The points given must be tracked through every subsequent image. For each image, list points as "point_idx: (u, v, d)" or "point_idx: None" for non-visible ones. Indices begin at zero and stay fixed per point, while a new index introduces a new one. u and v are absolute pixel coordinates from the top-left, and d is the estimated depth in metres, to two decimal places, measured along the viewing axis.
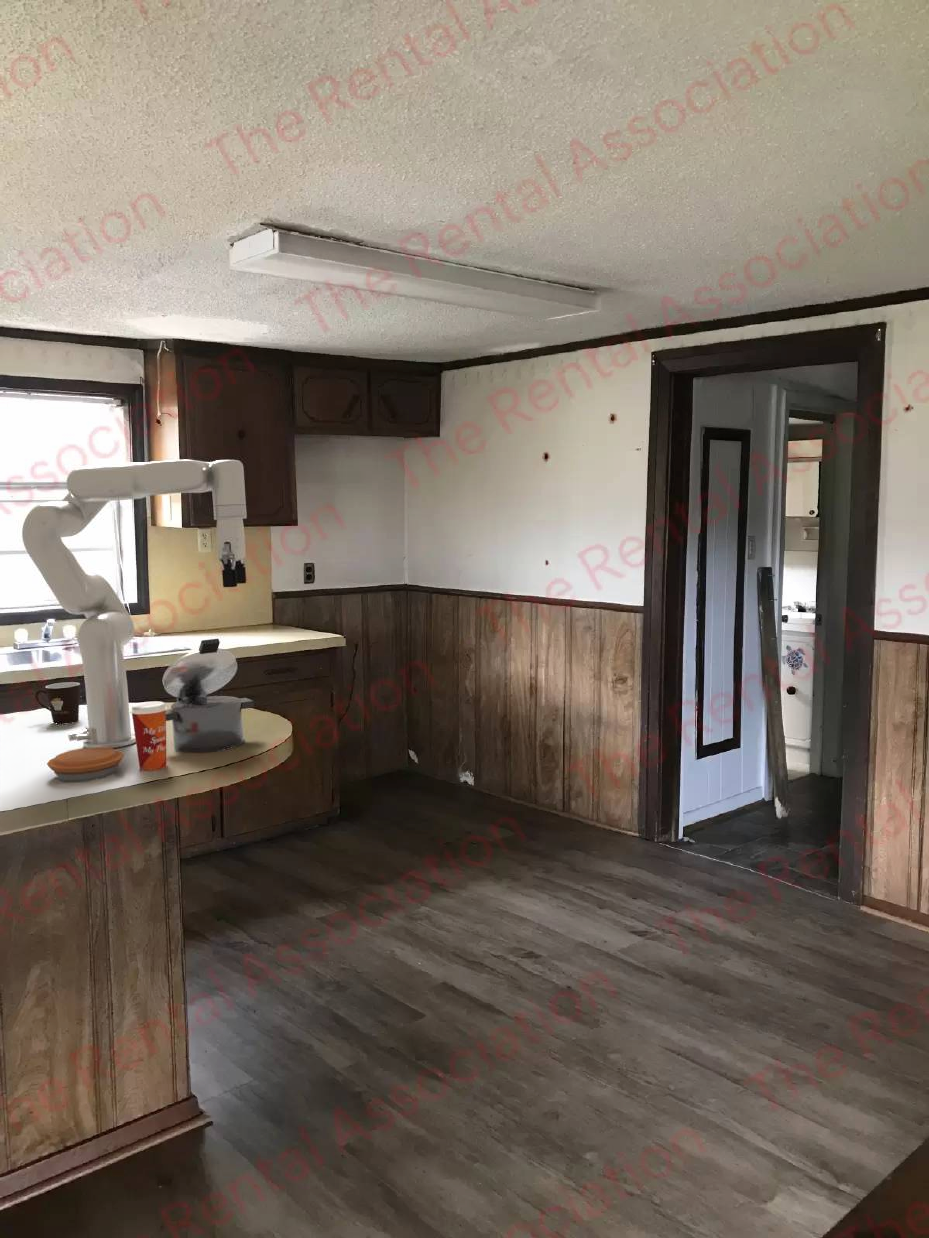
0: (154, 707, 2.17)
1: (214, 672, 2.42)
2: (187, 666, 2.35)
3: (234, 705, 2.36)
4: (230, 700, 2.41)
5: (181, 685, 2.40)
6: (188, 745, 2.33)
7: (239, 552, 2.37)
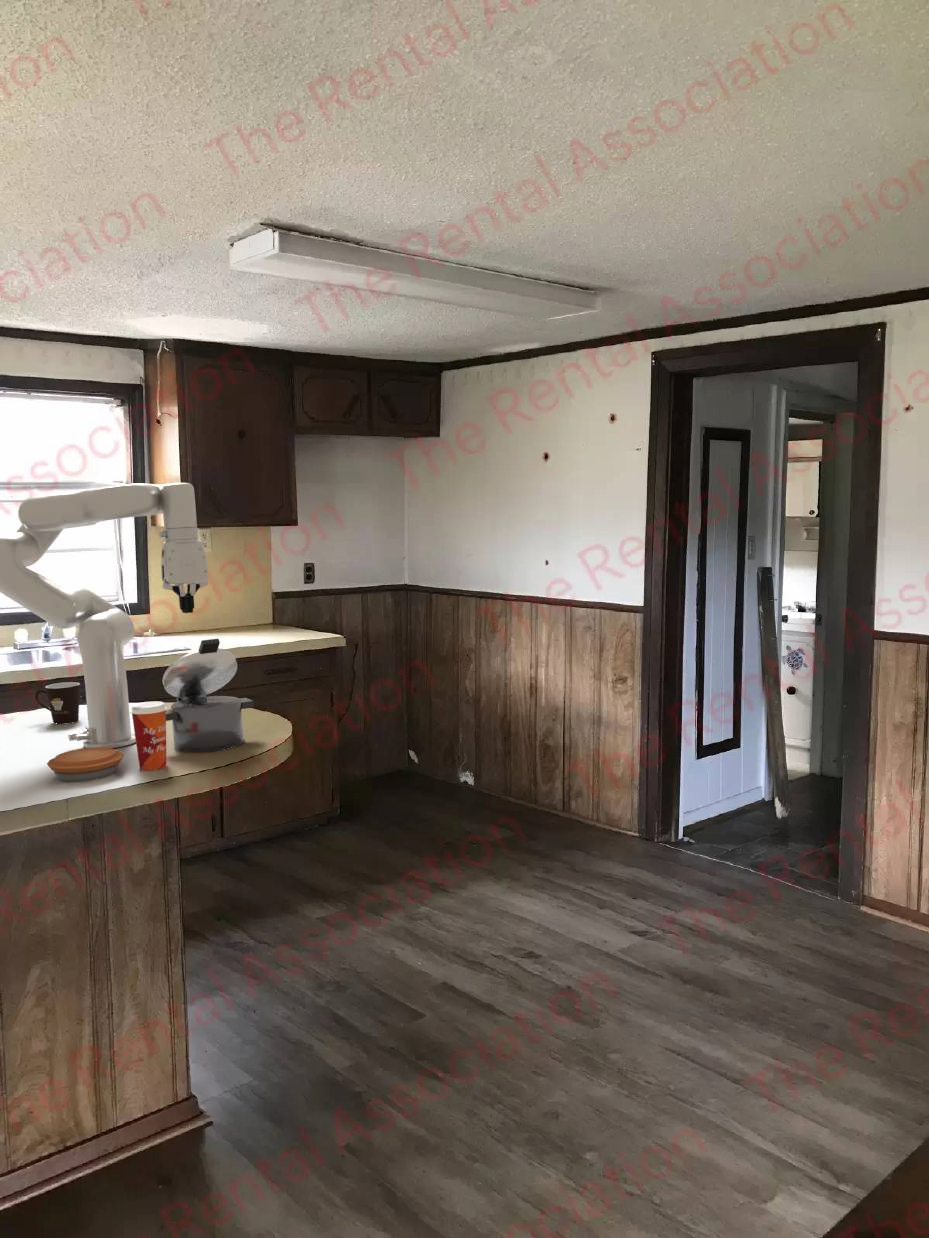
0: (154, 707, 2.17)
1: (214, 672, 2.42)
2: (187, 666, 2.35)
3: (234, 705, 2.36)
4: (230, 700, 2.41)
5: (181, 685, 2.40)
6: (188, 745, 2.33)
7: None
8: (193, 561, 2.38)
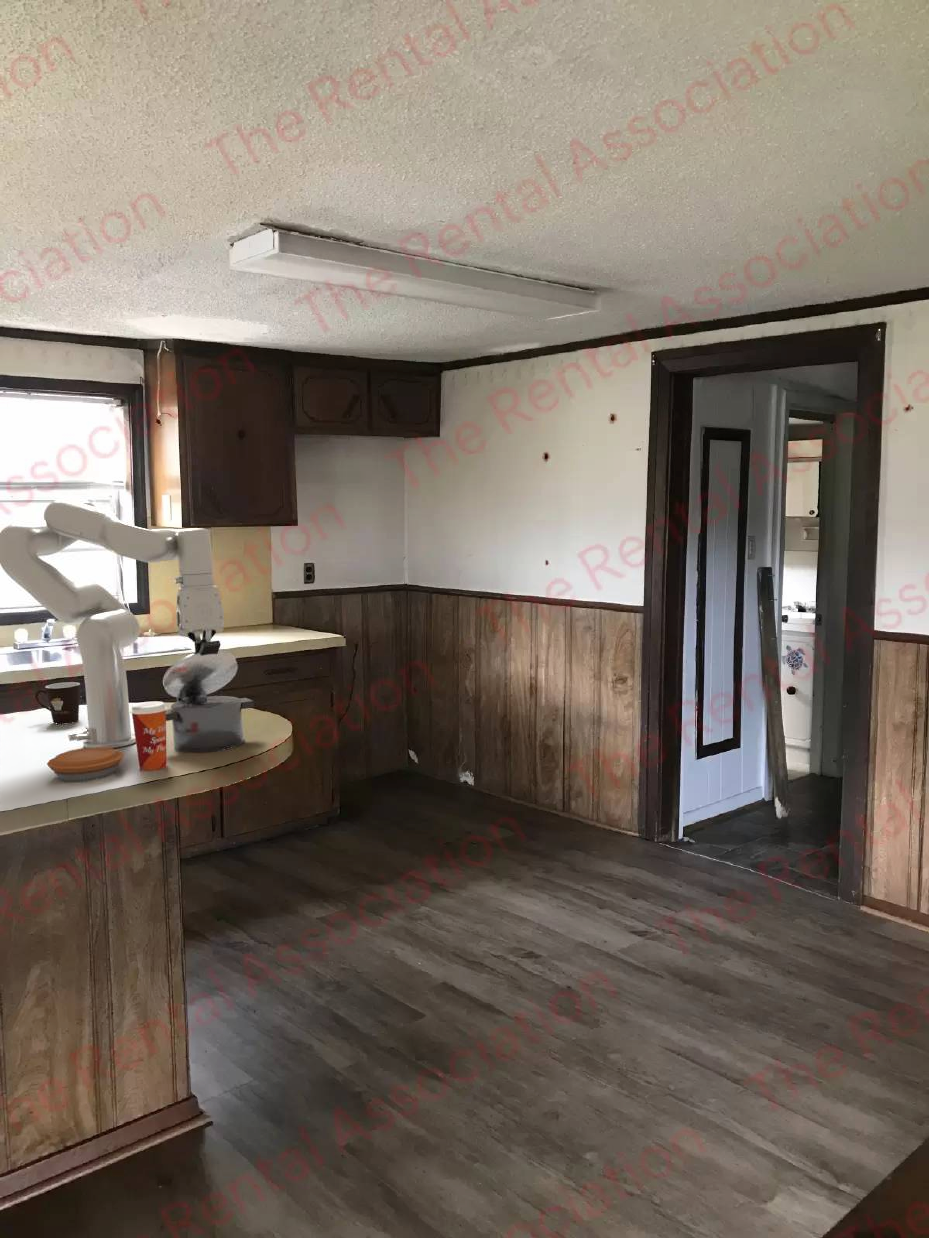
0: (154, 707, 2.17)
1: (214, 673, 2.41)
2: (187, 667, 2.35)
3: (234, 705, 2.36)
4: (230, 700, 2.41)
5: (181, 685, 2.40)
6: (188, 745, 2.33)
7: None
8: (209, 607, 2.35)
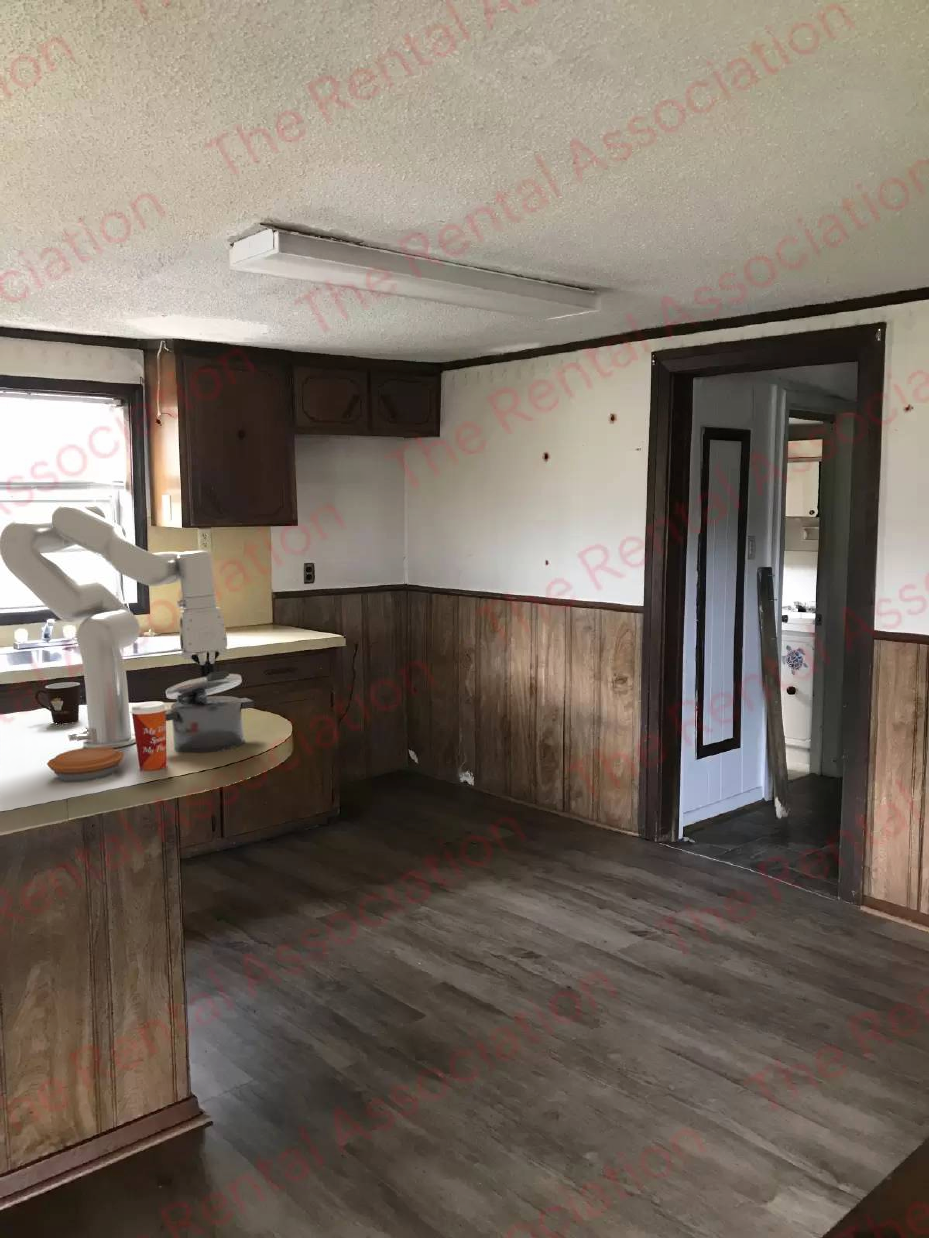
0: (154, 707, 2.17)
1: (218, 686, 2.40)
2: (192, 687, 2.33)
3: (234, 705, 2.36)
4: (230, 700, 2.41)
5: (183, 694, 2.39)
6: (188, 745, 2.33)
7: None
8: (212, 629, 2.36)
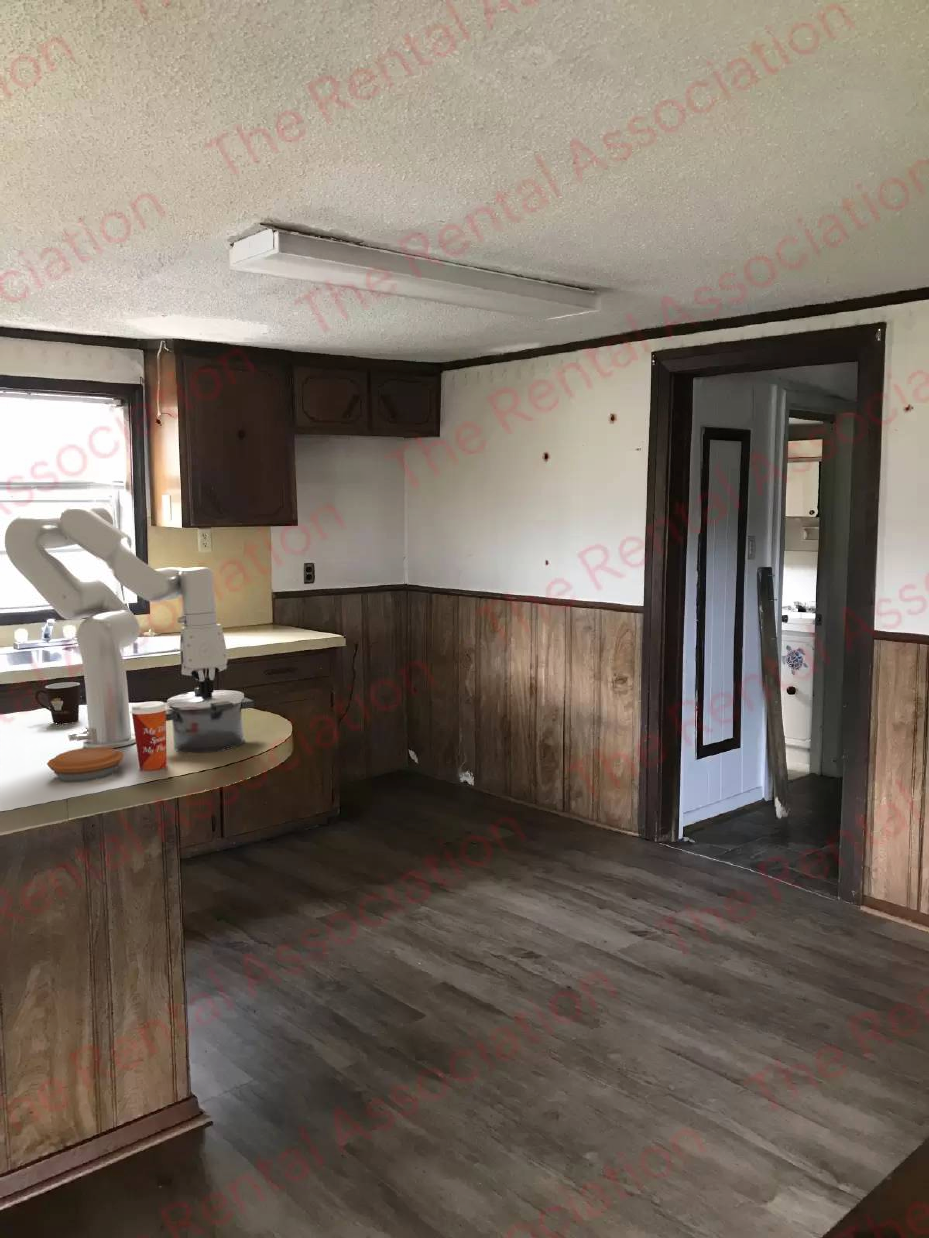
0: (154, 707, 2.17)
1: None
2: None
3: (234, 705, 2.36)
4: None
5: None
6: (188, 745, 2.33)
7: None
8: (212, 646, 2.36)
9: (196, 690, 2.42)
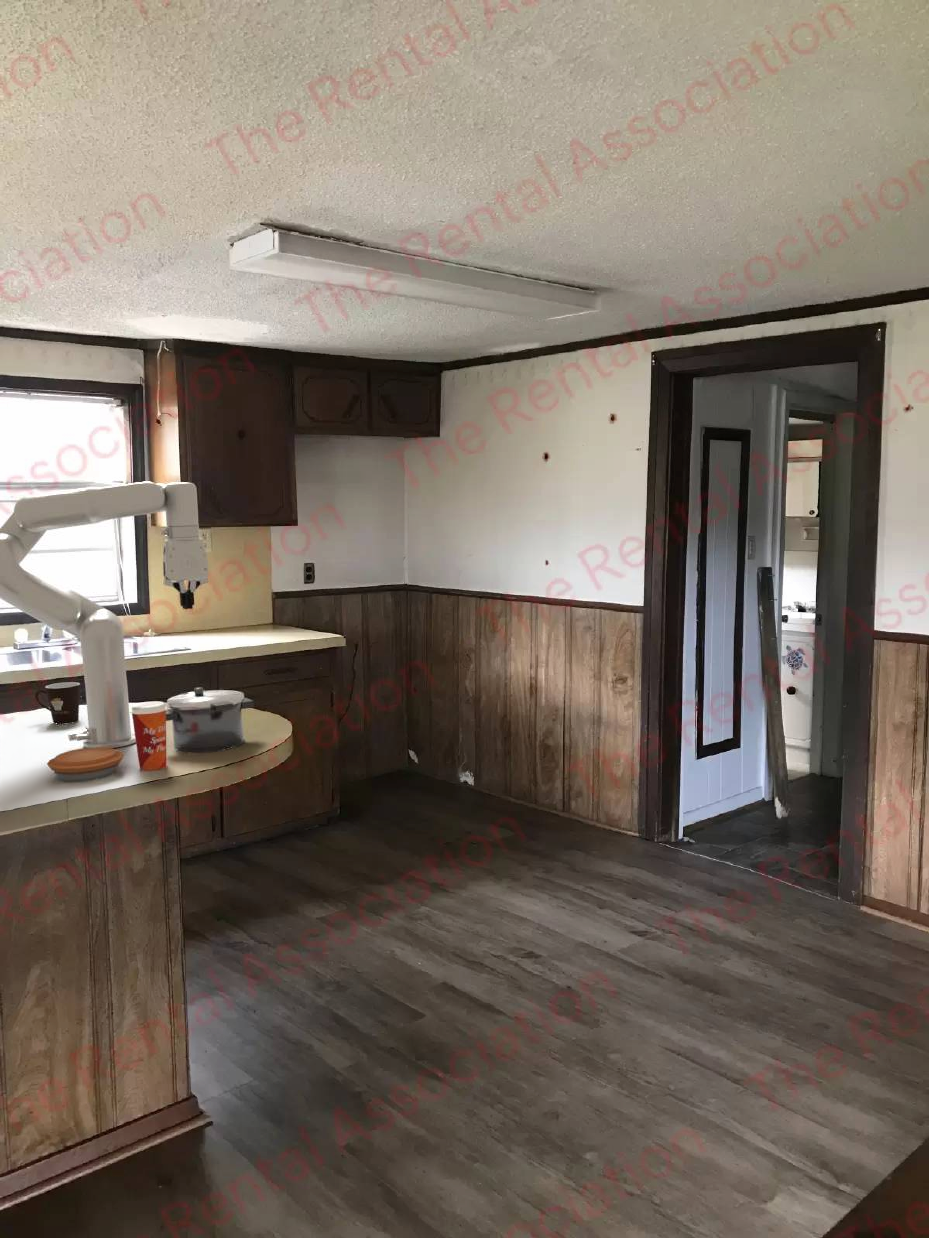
0: (154, 707, 2.17)
1: None
2: None
3: (234, 705, 2.36)
4: None
5: None
6: (188, 745, 2.33)
7: None
8: (193, 559, 2.45)
9: (196, 690, 2.42)
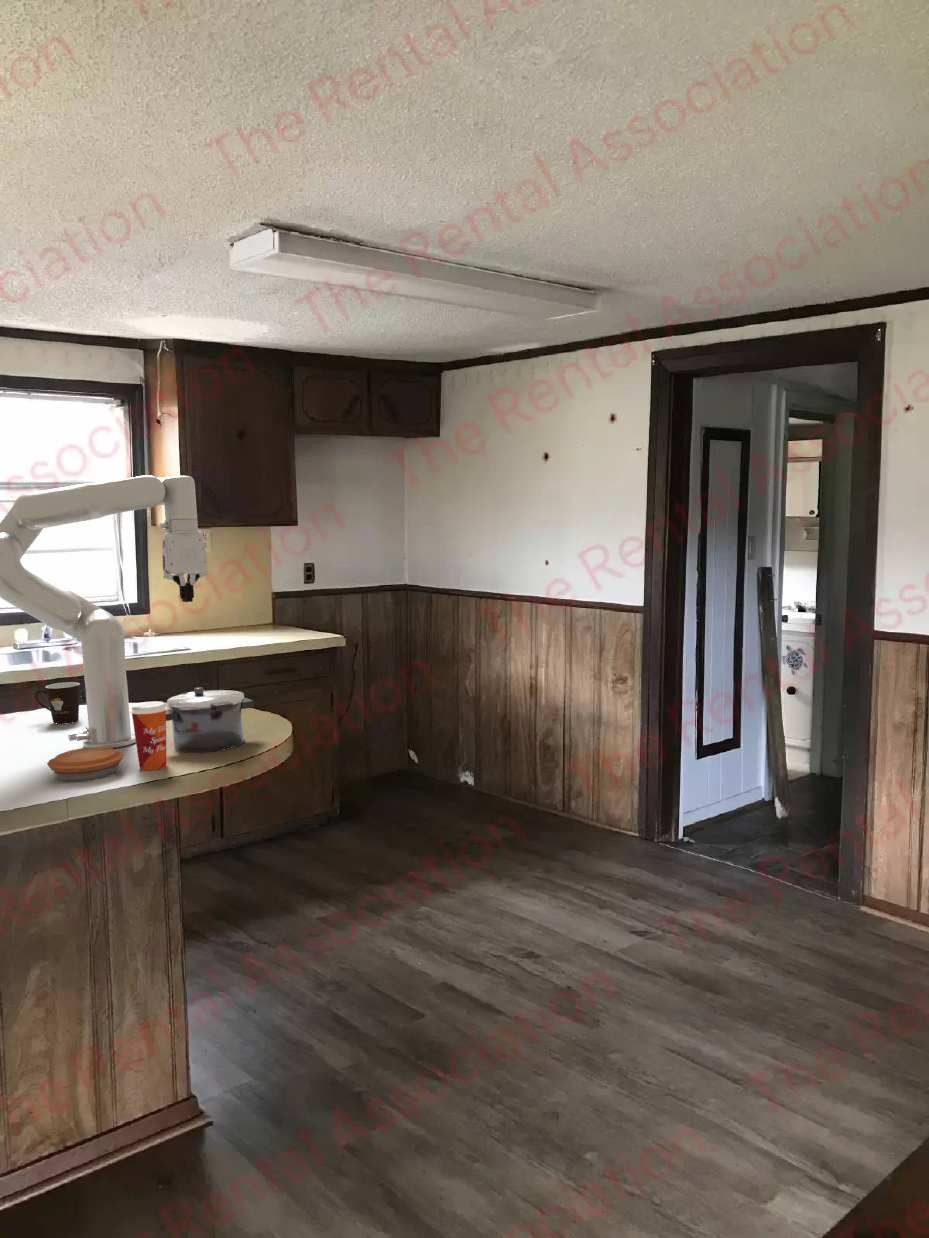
0: (154, 707, 2.17)
1: None
2: None
3: (234, 705, 2.36)
4: None
5: None
6: (188, 745, 2.33)
7: None
8: (193, 552, 2.46)
9: (196, 690, 2.42)
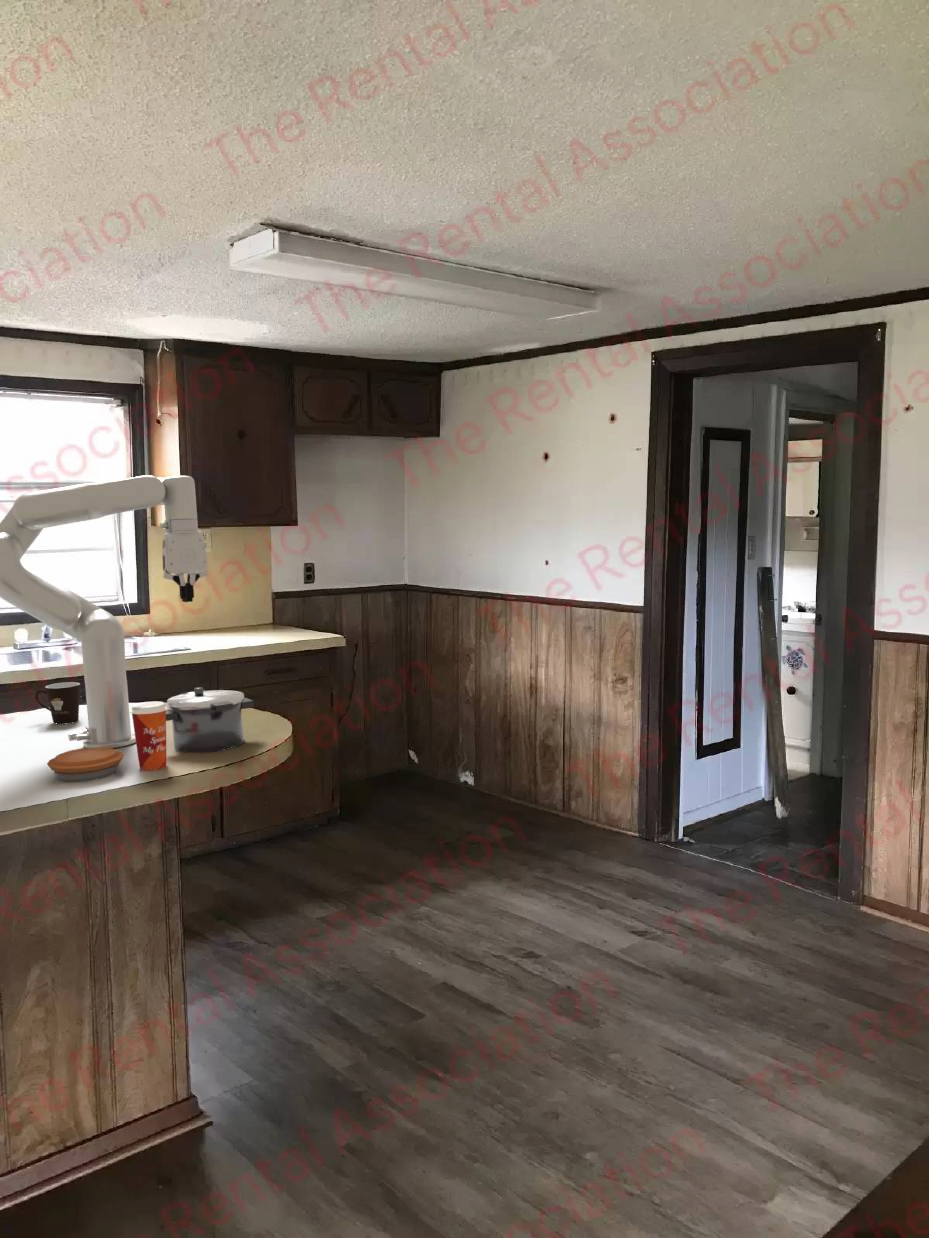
0: (154, 707, 2.17)
1: None
2: None
3: (234, 705, 2.36)
4: None
5: None
6: (188, 745, 2.33)
7: None
8: (193, 552, 2.46)
9: (196, 690, 2.42)
